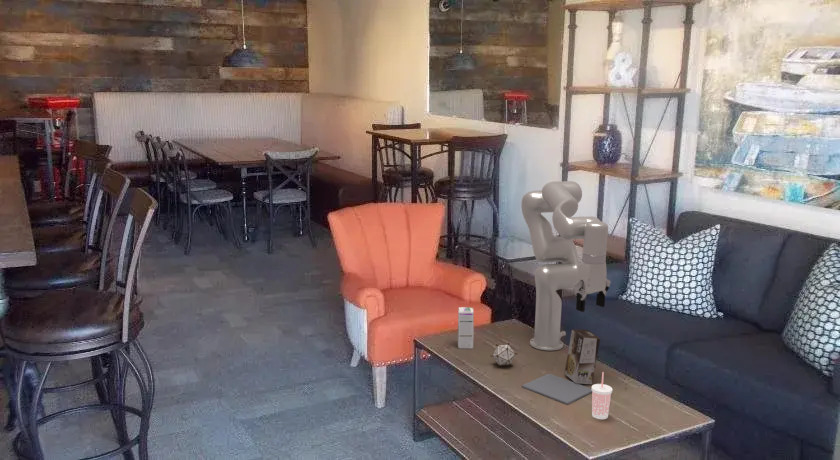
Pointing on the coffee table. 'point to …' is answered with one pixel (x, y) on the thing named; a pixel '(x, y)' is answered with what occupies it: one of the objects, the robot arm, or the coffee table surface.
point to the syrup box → (465, 327)
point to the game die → (503, 354)
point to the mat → (557, 388)
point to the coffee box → (582, 356)
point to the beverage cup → (601, 400)
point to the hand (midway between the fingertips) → (590, 308)
